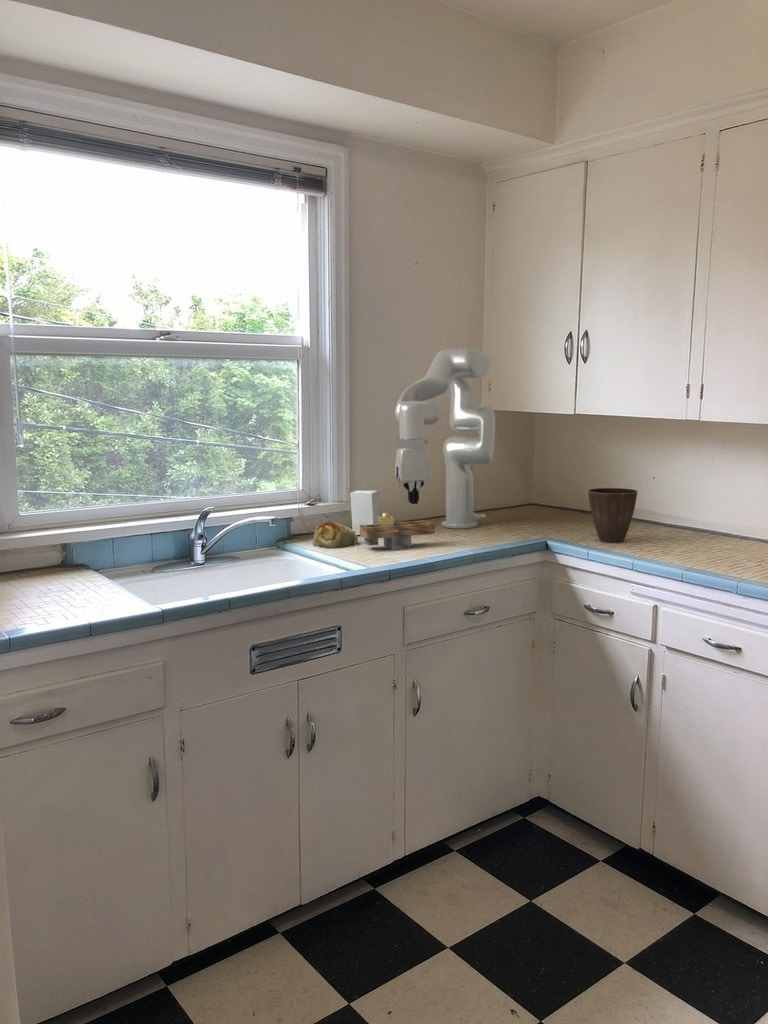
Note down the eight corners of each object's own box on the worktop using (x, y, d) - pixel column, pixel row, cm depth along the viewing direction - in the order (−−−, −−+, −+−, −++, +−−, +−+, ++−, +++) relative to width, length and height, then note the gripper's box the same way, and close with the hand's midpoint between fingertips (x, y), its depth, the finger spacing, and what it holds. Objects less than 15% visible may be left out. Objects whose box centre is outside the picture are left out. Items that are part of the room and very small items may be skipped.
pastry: (309, 548, 250) (308, 523, 249) (316, 541, 262) (316, 516, 261) (354, 549, 249) (353, 523, 247) (360, 541, 261) (359, 517, 260)
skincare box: (381, 534, 273) (380, 490, 271) (373, 537, 267) (373, 492, 265) (358, 532, 276) (357, 489, 274) (350, 535, 271) (349, 491, 268)
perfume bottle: (390, 528, 250) (390, 512, 249) (393, 529, 248) (393, 513, 247) (378, 529, 249) (378, 513, 248) (381, 530, 246) (381, 514, 245)
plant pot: (577, 541, 257) (579, 490, 255) (602, 534, 267) (603, 486, 265) (620, 547, 247) (622, 494, 244) (644, 540, 257) (646, 490, 255)
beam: (425, 542, 258) (425, 519, 257) (435, 546, 250) (435, 523, 249) (359, 547, 250) (359, 524, 249) (368, 552, 243) (367, 528, 242)
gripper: (429, 441, 253) (430, 499, 257) (384, 444, 248) (386, 503, 252) (439, 443, 246) (440, 503, 250) (393, 447, 241) (395, 507, 245)
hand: (413, 503), depth 251 cm, fingers closed
